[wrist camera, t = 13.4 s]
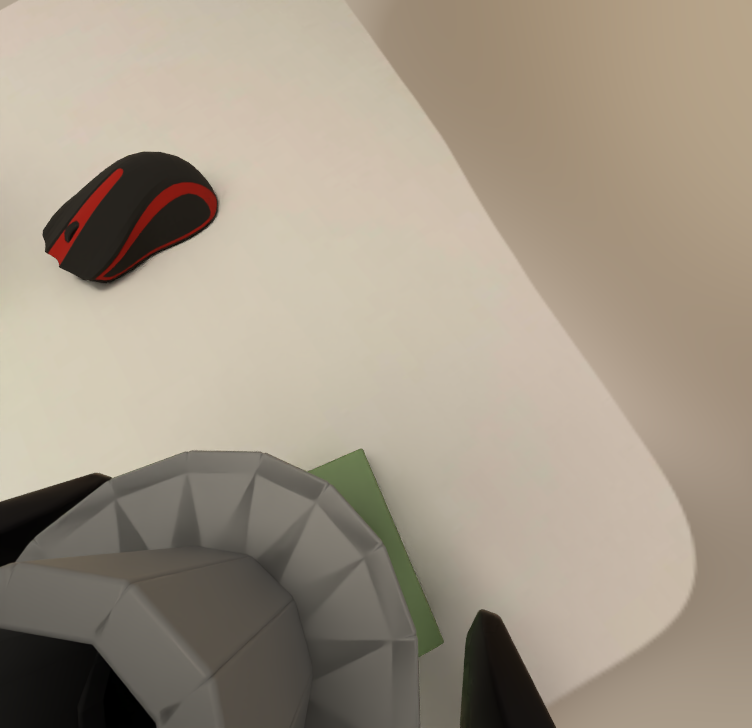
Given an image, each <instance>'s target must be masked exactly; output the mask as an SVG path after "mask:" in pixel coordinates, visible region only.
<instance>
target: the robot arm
mask: <svg viewBox="0 0 752 728" xmlns="http://www.w3.org/2000/svg"><path fill="white" fill-rule="evenodd" d="M111 479H112V477H109V476H106V475H104V474H101V473H93V474H89V475H86V476H83V477H80V478H76V479H73V480H70V481H66V482H63V483H60V484H57V485H53V486H50V487H47V488H44V489H40V490H37V491H34V492H31V493H27V494H24V495H21V496H18V497H14V498H11V499H8V500H5V501H1V502H0V567H2V566H5V565H7V564H10V563H15V562H16V560H17V559H18V558H19V556H20V555H21V554H22V552H23V551H24V550H25V548H26V547H27V546H28V544H29V543H30V542H31V541H32V540H34V538H35V537H36V536H37V535H38V534H39V533H41V532H42V531H43V530H45V529H46V528H47V527H48V526H50V525H51V524H52V523H54V522H55V521H56V520H57V519H59V518H60V517H61V516H63V515H64V514H65V513H67V512H68V511H69V510H70V509H72V508H73V507H74V506H76V505H77V504H78V503H79V502H81V501H82V500H83V499H85V498H86V497H87V496H88V495H90V494H91V493H92V492H94V491H95V490H96V489H97V488H99V487H100V486H101V485H103V484H104V483H105V482H107V481H109V480H111ZM460 728H556V727H555V725H554V723H553V721H552V719H551V717H550V715H549V713H548V711H547V709H546V707H545V705H544V703H543V701H542V699H541V697H540V695H539V693H538V691H537V689H536V687H535V685H534V683H533V681H532V679H531V677H530V675H529V673H528V671H527V669H526V667H525V665H524V663H523V661H522V659H521V657H520V655H519V653H518V651H517V649H516V647H515V645H514V643H513V641H512V639H511V637H510V635H509V633H508V631H507V629H506V627H505V625H504V623H503V621H502V619H501V618H500V617H499V616H498V615H497V614H495V613H492V612H489V611H487V610H484V609H481V610H479V612H478V613H477V615H476V617H475V619H474V621H473V623H472V625H471V627H470V629H469V631H468V634H467V637H466V644H465V658H464V672H463V687H462V701H461V717H460Z"/></svg>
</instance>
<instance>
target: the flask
mask: <svg viewBox="0 0 752 728" xmlns="http://www.w3.org/2000/svg"><path fill="white" fill-rule="evenodd" d="M0 728H420V698H419V660H418V638H417V635H416V628H415V625H414V623H413V620H412V617H411V615H410V612H409V609H408V606H407V604H406V601H405V598H404V595H403V593H402V590H401V587H400V585H399V582H398V579H397V576H396V574H395V571H394V568H393V566H392V563H391V560H390V557H389V555H388V552H387V549H386V547H385V546H384V545H383V542H382V540H381V539H380V538H379V537H378V536H377V535H376V533H375V532H374V531H373V530H372V529H371V528H370V527H369V525H368V524H367V523H366V522H365V521H364V520H363V519H362V518H361V516H360V515H359V514H358V513H357V512H356V511H355V510H354V509H353V507H352V506H351V505H350V504H349V503H348V502H347V501H346V499H345V498H344V497H343V496H342V495H341V494H340V493H339V492H338V490H337V489H336V488H335V487H334V486H333V485H332V484H330V483H329V482H328V481H326V480H324V479H322V478H319V477H317V476H315V475H313V474H311V473H309V472H306V471H304V470H302V469H300V468H298V467H295V466H293V465H291V464H289V463H287V462H285V461H282V460H280V459H278V458H276V457H274V456H272V455H269V454H267V453H262V452H247V451H193V450H192V451H189V452H183V453H180V454H177V455H175V456H172V457H169V458H166V459H164V460H161V461H158V462H155V463H153V464H150V465H147V466H144V467H142V468H139V469H136V470H133V471H131V472H128V473H125V474H122V475H120V476H117V477H114V478H112V479H111V480H109V481H107V482H105V483H104V484H103V485H101V486H100V487H99V488H97V489H96V490H95V491H94V492H92V493H91V494H90V495H88V496H87V497H86V498H85V499H83V500H82V501H81V502H79V503H78V504H77V505H76V506H74V507H73V508H72V509H70V510H69V511H68V512H67V513H65V514H64V515H63V516H61V517H60V518H59V519H57V520H56V521H55V522H54V523H52V524H51V525H50V526H48V527H47V528H46V529H45V530H43V531H42V532H41V533H39V534H38V535H37V536H36V537H35V538H34V540H32V541H31V542H30V543H29V544H28V546H27V547H26V548H25V550H24V551H23V552H22V554H21V555H20V556H19V558H18V559H17V560H16V562H15V563H10V564H7V565H5V566H2V567H0Z"/></svg>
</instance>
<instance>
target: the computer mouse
mask: <svg viewBox="0 0 752 728" xmlns="http://www.w3.org/2000/svg"><path fill="white" fill-rule="evenodd" d="M216 210H217V199H216V195H215V193H214V191H213V189H212V187H211V186H210V184H209V183H208V181H207V180H206V179H205V177H204V176H203V175H202V174H201V173H200V172H199V171H198V170H197V169H196V168H195V167H194V166H192V165H191V164H190V163H189V162H187V161H185V160H183V159H181V158H179V157H177V156H174V155H170V154H166V153H162V152H140V153H136V154H132V155H128V156H126V157H124V158H122V159H120V160H118V161H116V162H115V163H114V164H112V165H111V166H109V167H108V168H106V169H105V170H104V171H102V172H101V173H100V174H99V175H98V176H96V177H95V178H94V179H93V180H92V181H90V182H89V183H88V184H87V185H86V186H85V187H84V188H82V189H81V190H80V191H79V192H78V193H77V194H76V195H75V196H73V197H72V198H71V199H70V200H68V201H67V202H66V203H65V204H64V205H63V206H62V207H61V208H60V209H59V210H58V211H57V212H56V213H55V214H54V215H53V216H52V218H51V219H50V221H49V222H48V224H47V225H46V227H45V228H44V230H43V237H44V240H45V252H46V253H48V254H50V255H51V256H53V257H54V258H56V259H57V260H58V262H59V267H60V268H62V269H64V270H66V271H68V272H70V273H72V274H74V275H76V276H78V277H80V278H81V279H83V280H89V281H96V282H104V283H107V282H111V281H113V280H115V279H116V278H118V277H120V276H122V275H123V274H125V273H127V272H128V271H130V270H131V269H133V268H134V267H136V266H137V265H138V264H140V263H141V262H142V261H144V260H145V259H146V258H148V257H149V256H151V255H152V254H154V253H156V252H158V251H161V250H163V249H166V248H168V247H171V246H173V245H175V244H177V243H179V242H182V241H184V240H186V239H188V238H189V237H191V236H193V235H195V234H196V233H198V232H199V231H201V230H202V229H203V228H205V227H206V226H207V225H208V224H209V223H210V222H211V221H212V219H213V218H214V216H215V213H216Z"/></svg>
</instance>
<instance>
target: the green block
mask: <svg viewBox="0 0 752 728" xmlns="http://www.w3.org/2000/svg"><path fill="white" fill-rule="evenodd" d="M308 472H309V473H311V474H313V475H315V476H317V477H319V478H322V479H324V480H326V481H328V482H329V483H330V484H332V485H333V486H334V487H335V488H336V489H337V490H338V492H339V493H340V494H341V495H342V496H343V497H344V498H345V499H346V501H347V502H348V503H349V504H350V505H351V506H352V507H353V509H354V510H355V511H356V512H357V513H358V514H359V515H360V516H361V518H362V519H363V520H364V521H365V522H366V523H367V524H368V525H369V527H370V528H371V529H372V530H373V531H374V532H375V533H376V535H377V536H378V537H379V538H380V539H381V540H382V542H383V545H384V546H385V547H386V549H387V552H388V555H389V557H390V560H391V563H392V566H393V568H394V571H395V574H396V576H397V579H398V582H399V585H400V587H401V590H402V593H403V595H404V598H405V601H406V604H407V606H408V609H409V612H410V615H411V617H412V620H413V623H414V625H415V628H416V635H417V638H418V657H420V656H422V655H424V654H426V653H427V652H429V651H431V650H433V649H434V648H436V647H438V646H440V645H441V644H443V643H444V640H443V638H442V635H441V633H440V631H439V628H438V626H437V624H436V621H435V619H434V616H433V614H432V612H431V609H430V607H429V605H428V602H427V600H426V598H425V595H424V593H423V590H422V588H421V586H420V583H419V581H418V579H417V576H416V574H415V572H414V569H413V567H412V564H411V562H410V560H409V557H408V555H407V553H406V550H405V548H404V546H403V543H402V541H401V538H400V536H399V534H398V531H397V529H396V527H395V524H394V522H393V520H392V517H391V515H390V513H389V510H388V508H387V505H386V503H385V501H384V498H383V496H382V494H381V491H380V489H379V487H378V484H377V482H376V479H375V477H374V475H373V472H372V470H371V468H370V465H369V463H368V461H367V458H366V456H365V453H364V451H363V449H359V450H356V451H354V452H352V453H349V454H347V455H345V456H343V457H340V458H338V459H336V460H333V461H331V462H329V463H326V464H324V465H322V466H320V467H317V468H315V469H313V470H310V471H308Z"/></svg>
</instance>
